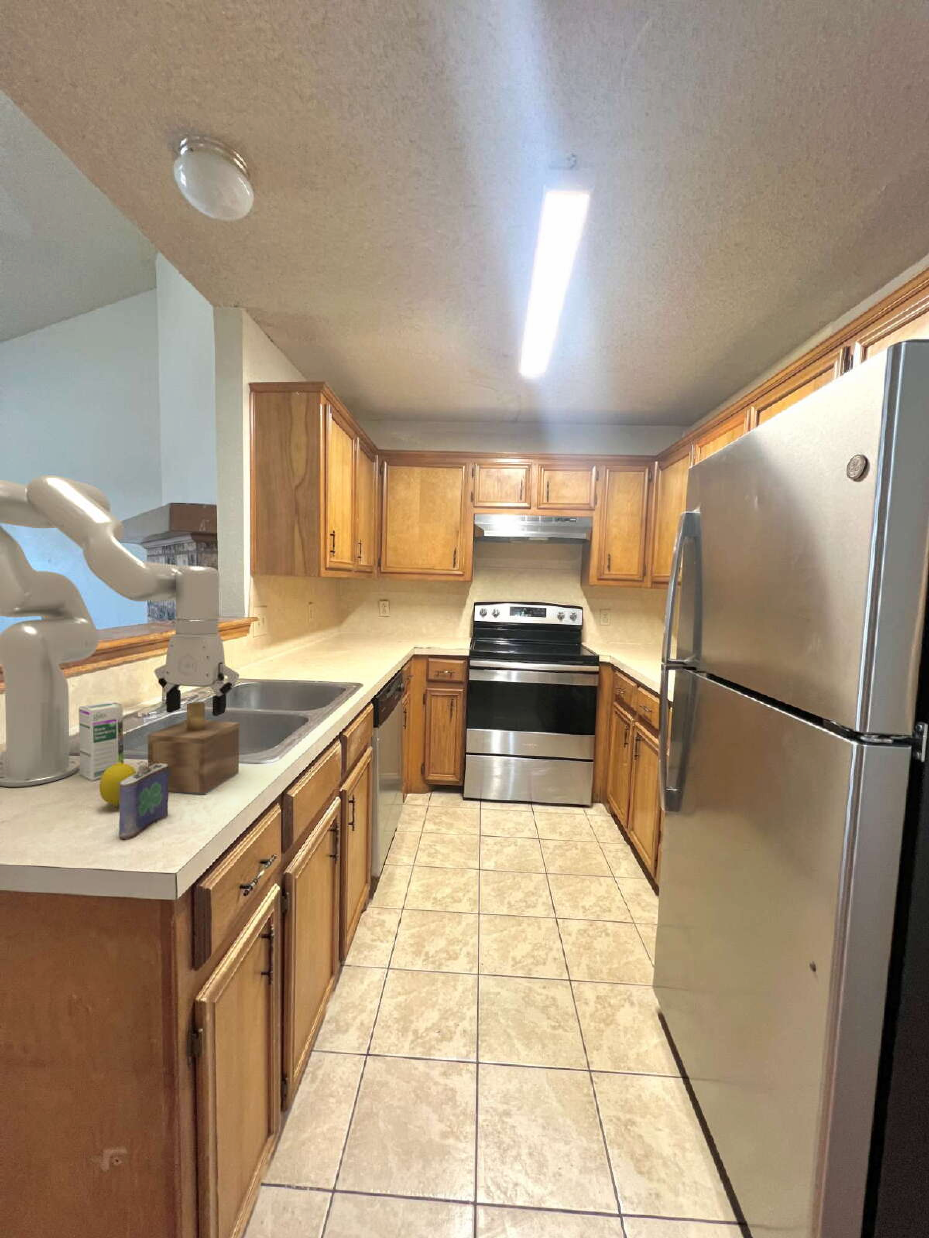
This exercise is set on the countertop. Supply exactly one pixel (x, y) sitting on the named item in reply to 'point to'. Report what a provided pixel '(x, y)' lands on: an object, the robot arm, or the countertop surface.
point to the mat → (208, 790)
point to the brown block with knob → (196, 751)
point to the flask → (143, 799)
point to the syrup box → (100, 738)
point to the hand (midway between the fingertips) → (196, 712)
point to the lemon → (114, 781)
